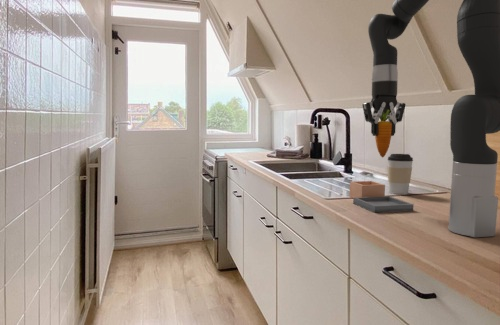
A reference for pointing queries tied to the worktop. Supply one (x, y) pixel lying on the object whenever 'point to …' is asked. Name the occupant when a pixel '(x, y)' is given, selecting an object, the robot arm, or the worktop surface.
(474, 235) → the robot arm
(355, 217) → the worktop surface
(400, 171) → the coffee cup
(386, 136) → the carrot
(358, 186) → the terracotta open box
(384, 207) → the charcoal tray
